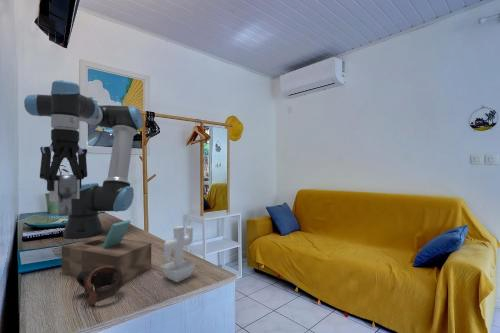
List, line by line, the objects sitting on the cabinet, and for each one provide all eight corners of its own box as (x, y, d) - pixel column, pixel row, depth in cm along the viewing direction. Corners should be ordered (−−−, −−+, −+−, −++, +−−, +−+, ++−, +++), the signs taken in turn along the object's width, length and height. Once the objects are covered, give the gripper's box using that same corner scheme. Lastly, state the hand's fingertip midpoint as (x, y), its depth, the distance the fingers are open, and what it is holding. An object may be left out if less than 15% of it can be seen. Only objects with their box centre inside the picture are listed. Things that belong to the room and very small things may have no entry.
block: (100, 258, 89) (100, 235, 89) (151, 268, 82) (151, 243, 82) (61, 273, 77) (61, 246, 77) (117, 286, 69) (117, 256, 69)
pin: (67, 212, 88) (68, 174, 88) (81, 213, 86) (81, 175, 86) (47, 215, 82) (48, 175, 82) (61, 217, 80) (61, 176, 80)
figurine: (156, 279, 74) (157, 227, 73) (183, 269, 81) (184, 221, 81) (172, 287, 69) (172, 231, 69) (198, 275, 77) (199, 225, 77)
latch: (120, 242, 81) (118, 240, 82) (130, 221, 80) (128, 219, 80) (104, 248, 76) (102, 246, 76) (114, 226, 74) (112, 224, 75)
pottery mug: (130, 286, 70) (132, 266, 67) (111, 320, 62) (111, 299, 58) (87, 275, 70) (86, 254, 66) (61, 308, 62) (58, 286, 58)
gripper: (40, 124, 74) (39, 204, 74) (100, 132, 92) (99, 197, 92) (23, 125, 76) (23, 203, 77) (85, 133, 94) (84, 196, 95)
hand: (64, 199), depth 84 cm, fingers closed on pin, 6 cm apart
